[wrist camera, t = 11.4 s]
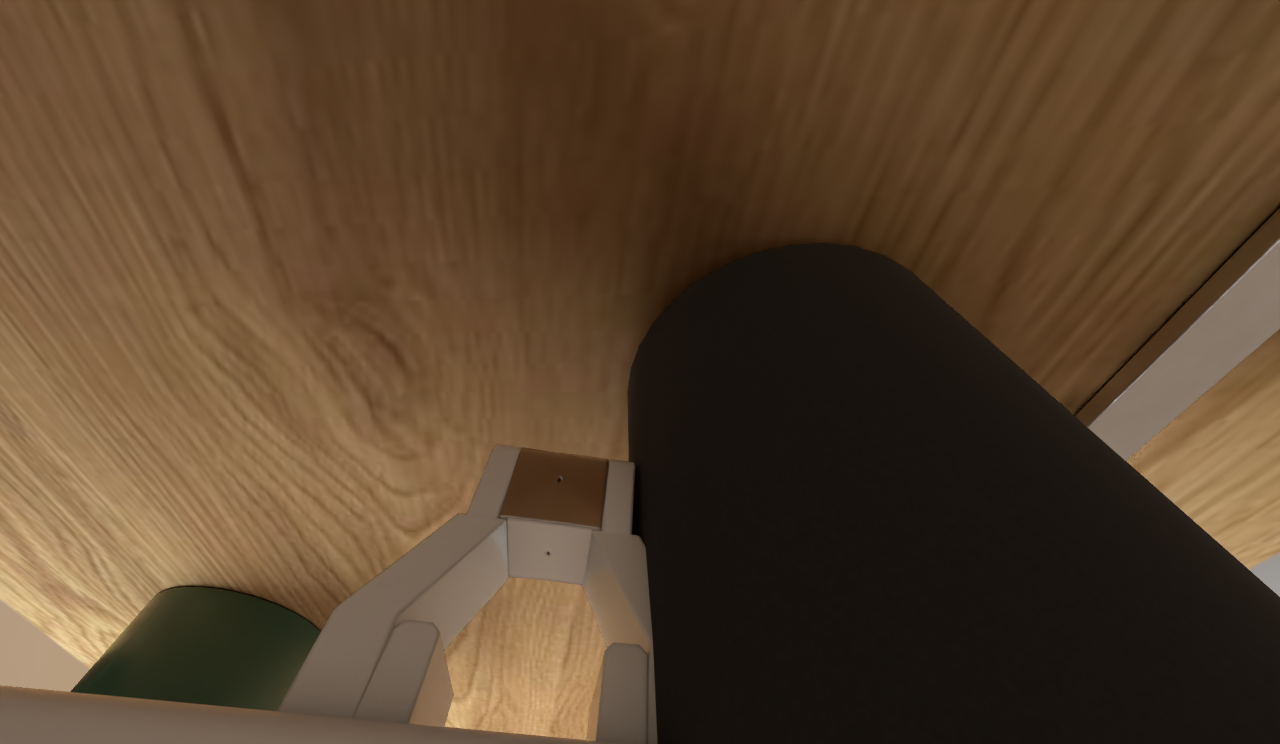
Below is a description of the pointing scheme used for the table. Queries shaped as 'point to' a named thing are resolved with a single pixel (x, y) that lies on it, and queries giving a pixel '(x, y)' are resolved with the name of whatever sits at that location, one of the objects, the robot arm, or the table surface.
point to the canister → (205, 651)
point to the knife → (1193, 347)
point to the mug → (912, 535)
